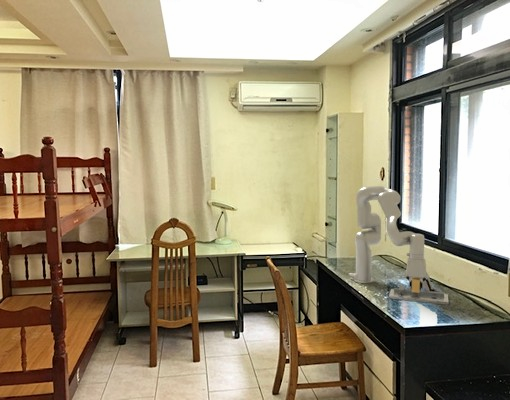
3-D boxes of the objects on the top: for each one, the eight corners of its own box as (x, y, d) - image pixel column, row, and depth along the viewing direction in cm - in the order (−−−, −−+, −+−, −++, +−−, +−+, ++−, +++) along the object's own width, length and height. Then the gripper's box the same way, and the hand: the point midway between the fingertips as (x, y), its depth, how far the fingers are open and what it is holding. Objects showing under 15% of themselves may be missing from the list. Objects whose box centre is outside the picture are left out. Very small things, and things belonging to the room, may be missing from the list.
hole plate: (388, 298, 239) (389, 295, 239) (391, 291, 252) (391, 288, 252) (448, 304, 228) (448, 302, 228) (447, 296, 241) (447, 294, 241)
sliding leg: (411, 295, 239) (411, 279, 238) (412, 291, 245) (412, 276, 245) (419, 296, 237) (419, 280, 236) (419, 292, 244) (420, 276, 243)
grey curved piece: (436, 290, 252) (430, 274, 251) (428, 293, 252) (423, 277, 251) (424, 282, 269) (419, 267, 268) (417, 285, 269) (412, 270, 268)
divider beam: (393, 294, 242) (393, 289, 242) (394, 290, 249) (394, 285, 249) (444, 299, 232) (444, 294, 232) (443, 295, 239) (444, 290, 239)
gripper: (400, 256, 239) (399, 289, 241) (433, 258, 233) (432, 292, 235) (401, 253, 246) (400, 285, 248) (433, 255, 240) (432, 288, 241)
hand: (415, 288), depth 241 cm, fingers closed on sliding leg, 4 cm apart
